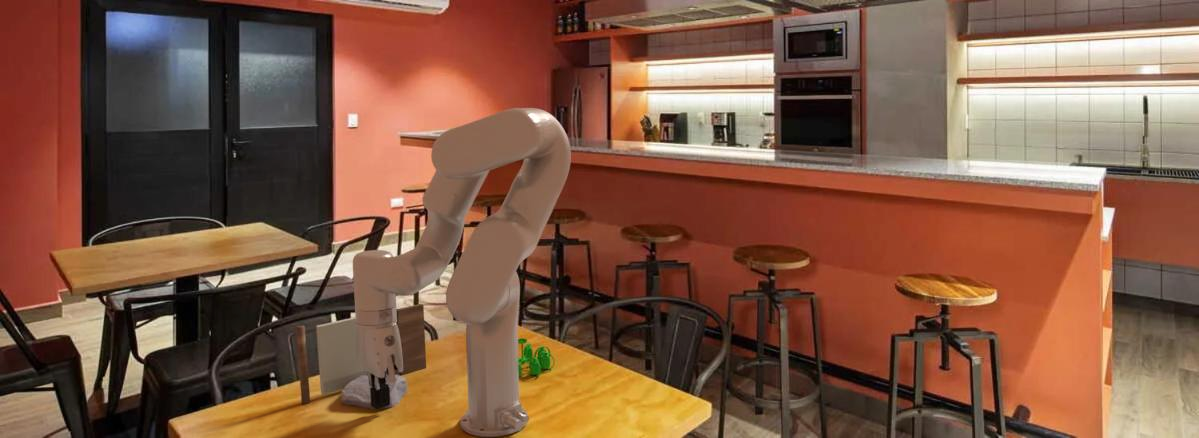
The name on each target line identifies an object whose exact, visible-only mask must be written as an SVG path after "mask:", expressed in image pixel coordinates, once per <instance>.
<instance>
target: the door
mask: <svg viewBox="0 0 1199 438" xmlns="http://www.w3.org/2000/svg"><path fill="white" fill-rule="evenodd" d="M315 327H316V340H317V353H318V354H317V356H318V370H319V383H320V394H322V395H327V394H330V393H334V392H337V391H338V392H339V391H340V390H341V391H342V390H343V389H344V388H345V386H346V385H347V384H349V383H350V382H351V381H353V380H355V379H356V378H358V377H359V376H361V375H366V376H368V375H367V373H366V372H365V371H364V369H363V368H361V367H360V366H359V364H358V357H357V326H356V317H355V316H354V317H349V318H344V319H341V320H336V321H331V322H328V323H322V324H318V325H316V326H315Z"/></svg>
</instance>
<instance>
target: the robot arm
mask: <svg viewBox="0 0 1199 438" xmlns="http://www.w3.org/2000/svg"><path fill="white" fill-rule="evenodd" d="M570 143H571V142H570V140H569V136H568V135H567V133H566V131H565V129H564V127H563V126H562V124H561V123H560V121H558V120H557V118H556V117H555V116H554V115H552V114H551V113H549V112H548V111H546V110H543V109H540V108H537V107H536V108H535V107H514V108H513V107H512V108H508V109H505V110H501V111H499V112H496V113H494V114H490V115H488V116H485V117H483V118H480V119H476V120H474V121H471V122H468V123H466V124H463V125H460V126H456V127H454V128H450V129H448V130H446V131H443V132H442V133H441V134H440V135H439V136H438V137H437V138H436V139H435V141H434V143H433V145H432V148H431V155H430V156H431V162H432V165H433V167H434V169H435V172H434V174H433V176H432V177H431V180H430V182H429V184H428V185H427V188H426V190H425V192H424V194H423V195H422V198H421V199H422V204H423V207H424V208H425V209H426V210H427V222H426V224H425V226H424V227H425V228H424V230H423V232H422V234H421V236H420V237H419V240H418V241H417V244H416V245H415V247H414V248H413V249H410V250H409V251H406V252H404V253H401V254H398V255H395V256H394V255H393V254H392V253H391V252H390V251H388V250H382V249H381V250H380V249H372V250H364V251H361V252H357V253H356V254H355V255H354V256H353V259H352V276H353V277H352V280H353V296H354V311H355V312H354V314H355V316H354V317H356V326H357V357H358V364H359V366H360V367H361V368H363V369H364V371H365V372H366V373H367V375H368V381H369V386H370V387H371V388H370V394H371V406H372V407H373V408H375V409H374V410H380V409H379V408H382V407H385V406H388V405H390V388H389V387H390V386H391V384H393V383H396V378H395V372H397V373H401V372H402V371H403V357H402V347H401V339H400V334H399V329H398V325H397V323H396V322H397V310H396V309H397V296H401V297H408V296H411V295H414V294H417V293H418V292H420V291H421V290H423V289H425V288H427V287H428V286H429V285H431V284H432V285H433V283H435V282H436V281H438V280H439V279H440V278H441V277H442V276H443V274H444V273H445V271H446V270H447V268H448V265H449V264H450V262H451V260H452V259H453V256H454V254H455V253H456V251H457V248H458V245H460V241H461V238H462V236H463V235H462V234H463V232H464V231H463V230H464V227H465V222H466V217H467V216H468V213H469V212H470V210H471V208H472V206H473V203H474V202H475V200H476V198H477V196H478V195H479V192H480V189H481V188H482V186H483V185H484V182H485V180H486V178H487V177H488V174H489V173H490V171H491V170H494V169H497V168H500V167H503V166H506V165H509V164H511V163H515V162H519V161H523V162H522V165H521V168H520V169H519V170H518V172H517V174H516V176H515V178H514V179H513V181H512V183H511V185H510V188H509V191H508V193H507V195H506V197H505V198H504V201H503V203H502V205H501V206H500V208H499V209H498V210H497V211H496V212H495V213H494V214H491V215H489V216H487V217H485V218H484V219H482V220H481V221H480V222H479V223H478V224H477V226H476V227H475V228H474V229H473V231H472V233H471V234H470V236H469V237H468V238H469V239H468V240H467V243H466V245H465V246H464V249H463V251H462V254H461V256H460V257H459V260H458V261H457V264H456V266H455V267H454V271H453V272H452V275H451V277H450V278H449V279H450V280H449V282H448V285H447V288H446V292H445V301H446V306H447V308H448V311H449V313H450V314H451V315H452V317H453V318H454V319H455V320H456V321H458V322H459V323H461V324H464V325H466V327H465V343H466V345H465V347H466V349H465V351H466V353H465V354H466V374H467V375H466V376H467V377H466V378H467V380H466V381H467V398H468V399H467V400H468V401H467V402H468V403H467V405H468V408H467V409H468V410H467V411H465V412H464V413H463V414H462V415H461V418H460V427H461V429H462V430H463V431H464V432H466V433H467V434H470V435H472V436H476V437H481V438H496V437H502V436H504V437H505V436H508V435H511V434H514V433H516V432H520V431H521V430H522V429H523V428H524V427H525V426H526V425H527V424H528V422H529V420H530V416H529V414H528V412H527V410H525V409H524V408H523V403H522V402H520V385H519V384H520V381H519V378H520V376H519V371H518V357H519V343H518V339H519V331H518V330H519V309H520V299H521V298H520V296H521V295H520V294H521V284H520V277H519V275H518V273H517V269H518V268H519V266H520V264H521V262H523V261H524V260H525V259H527V258H528V257H529V256H530V255H532V254H533V252H534V251H535V249H536V248H537V246H538V243H539V242H540V238H541V236H542V234H543V232H544V230H545V228H546V226H547V223H548V221H549V219H550V217H551V215H552V213H553V211H554V208H555V206H556V204H557V202H558V199H559V197H560V195H561V193H562V191H563V189H564V186H565V184H566V181H567V179H568V175H569V172H570V169H571V161H572V151H571V150H572V149H571V144H570ZM394 371H395V372H394Z"/></svg>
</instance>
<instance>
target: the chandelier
mask: <svg viewBox="0 0 1199 438" xmlns="http://www.w3.org/2000/svg"><path fill="white" fill-rule="evenodd" d="M519 344H520V345H521V357H519V356H518V371H519V377H520V376H522V371H523V370H522V364H528V368H529V373H530V375H532V376H533V375H534V376H536V377H539V376H540V375H541V373H542V371H541V370H546V369H547V370H551V369H553V367H554V366H555V362H556V361H555V357H554V355H553V354H552V353H551V349H550V348H548V347H547V346H545V345H541V346H539V347H538V348H536V350H535V351H533V350H534V349H533V347H532V346H531V345H532V344H531V343H530V342H528V339H527V338H518V345H519ZM524 344H526V345H525V346H524ZM547 351H548V352H547ZM533 352H534V354H533ZM551 358H552V361H553V364H552V366H551Z"/></svg>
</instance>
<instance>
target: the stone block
mask: <svg viewBox="0 0 1199 438" xmlns="http://www.w3.org/2000/svg"><path fill="white" fill-rule="evenodd" d="M399 375H400V374H399ZM399 375H395V378H396V383H393V384H391V386H390V387H389V388H390V405H388V406H385V407H382V408H379V409H378V410H380V409H381V410H382V409H383V410H384V409H390V408H394V407H395V406H396V405H398V404H399V403H400V402H401V401H402V399H403V398H404V396H405V395H406V393H408V382H407V379H406V377H404V376H403V375H400V376H399ZM370 388H371V387H370V386H369V381H368V376H366V375H361V376H359V377H358V378H356V379H355V380H353V381H351V382H350V383H349V384H347V385H346V386H345V388H344V389H341V396H340V398H341V400H340V401H341V403H342V404H345V405H350V406H354V407H355V406H357V407H361V408H364V409H372V410H376V409H375V408H373V407H372V406H371V394H370Z"/></svg>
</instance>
